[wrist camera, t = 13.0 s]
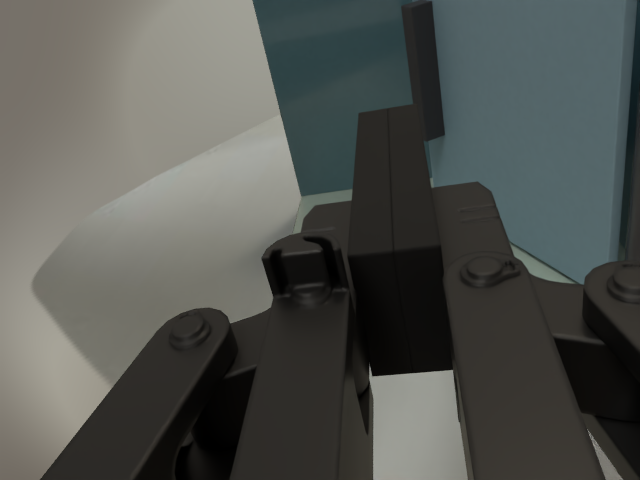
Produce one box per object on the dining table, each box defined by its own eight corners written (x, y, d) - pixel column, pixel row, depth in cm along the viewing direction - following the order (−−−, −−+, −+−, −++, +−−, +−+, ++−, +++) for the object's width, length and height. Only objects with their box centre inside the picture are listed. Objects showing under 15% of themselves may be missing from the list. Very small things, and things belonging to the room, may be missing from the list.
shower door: (417, 202, 35) (378, -97, 27) (442, 192, 36) (410, -105, 27) (583, 311, 24) (601, -131, 16) (615, 294, 25) (649, -144, 17)
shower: (268, 369, 27) (113, -85, 18) (305, 205, 41) (229, -103, 31) (685, 332, 24) (779, -249, 14) (575, 167, 37) (584, -190, 28)
